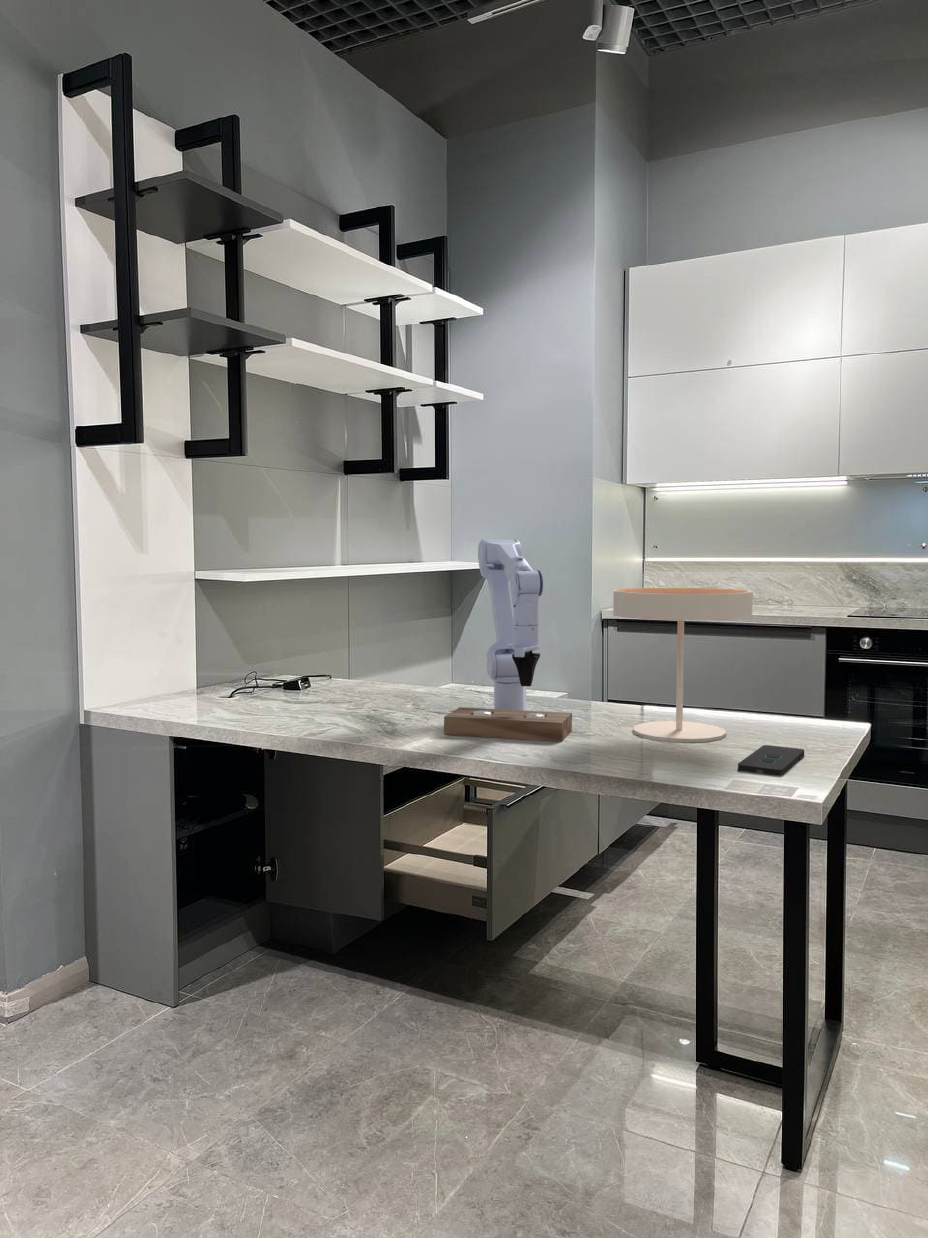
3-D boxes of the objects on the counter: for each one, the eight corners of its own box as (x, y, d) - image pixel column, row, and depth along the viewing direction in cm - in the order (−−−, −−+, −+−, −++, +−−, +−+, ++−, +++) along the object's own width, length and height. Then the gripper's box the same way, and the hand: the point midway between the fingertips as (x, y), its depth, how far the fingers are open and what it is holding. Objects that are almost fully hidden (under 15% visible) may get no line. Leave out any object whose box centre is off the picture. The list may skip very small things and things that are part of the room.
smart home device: (735, 763, 172) (763, 743, 189) (735, 773, 172) (763, 752, 189) (782, 769, 168) (806, 748, 185) (782, 778, 168) (806, 757, 185)
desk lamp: (753, 725, 215) (756, 588, 213) (745, 751, 187) (748, 595, 185) (623, 717, 225) (625, 586, 223) (598, 741, 197) (599, 592, 195)
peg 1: (476, 727, 211) (476, 710, 211) (493, 728, 210) (493, 711, 209) (471, 731, 207) (471, 713, 207) (488, 732, 206) (488, 714, 206)
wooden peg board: (459, 724, 216) (459, 707, 216) (571, 730, 209) (572, 712, 209) (444, 734, 205) (444, 716, 204) (562, 741, 197) (562, 722, 197)
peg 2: (528, 730, 208) (528, 712, 207) (546, 731, 206) (546, 713, 206) (524, 734, 204) (524, 716, 203) (542, 735, 203) (542, 716, 202)
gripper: (516, 622, 216) (516, 680, 217) (500, 627, 202) (500, 690, 203) (546, 622, 214) (546, 681, 215) (532, 628, 200) (532, 691, 201)
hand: (526, 686), depth 209 cm, fingers closed
